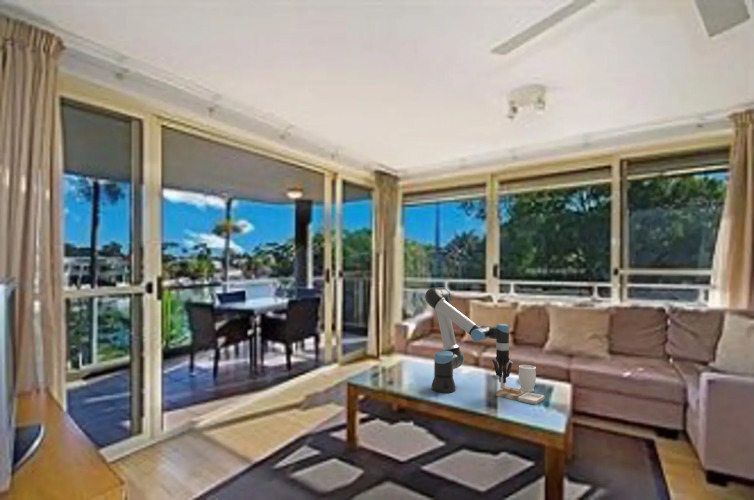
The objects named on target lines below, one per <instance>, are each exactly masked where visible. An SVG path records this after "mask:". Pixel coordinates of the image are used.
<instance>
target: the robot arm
mask: <svg viewBox="0 0 754 500" xmlns="http://www.w3.org/2000/svg"><path fill="white" fill-rule="evenodd" d="M424 298H425V301H426V303H427V304H428V305H429V306H430V307H431V308H433V310H435V311H436V316H437V320H438V321H437V322H438V325H439V332H440V336H441V340H442V345H443V347H442V348H441V350H438V351H436V352H435V353H434V359H433V360H434V364H433V365H434V367H433V368H434V369H433V370H434V373H433V374H434V377H433V380H432V383H431V387H430V389H431V390H432V391H433V392H438V393H443V394H448V393H454V392H455V391H456V388H457V387H456V384H455V380H454V370H455V369H458V368H460V367H461V366H462V365H463V364H464V362H465V355H464V353H463V351H462V350H461V349H460V345H458V344H457V342H456V337H455V335H456V334H455V332H454V327H453V323H454V324H455V325H457V326H458V327H459V328H461V329H462V330H463V331H464V332H466V333H467V334H468V335H469V336H470V337H471V340H472V341H474V342H477V343H479V342H482V341H484V340H487V339H488V340H489V339H490V340H495V341H496V344H495V345H496V347H495V348H496V350H495V351H496V353H495V354H496V357H495V358H494V359H491V361H492V363H493V366H494V371H495V375H496V376H498V378H499V379H498V381H499V382H498V383H500V389H503V388H504V387H506V386H505V385H506V383H507V378H508V377H510V374H511V370H512V366H513V365H514V361H511V360H510V357H509V356H510V350H509V349H510V329H509V328H510V327H509V325H508V324H506V323H497V324H496V325H495V326H487V325H478V324H476V322H474V321H473V320H472V319H470V318H468V316H466V315H465V314H463V313H462V312H461V311H460V310H458V309H457V308H456V307H454V306H453V305H452V304H451V300H452V294H451V291H450V290H449V289H448V288H447V287H445V286H436V287H431V288H429V289H427V290H426V292H425V294H424Z"/></svg>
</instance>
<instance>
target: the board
mask: <svg viewBox="0 0 754 500" xmlns="http://www.w3.org/2000/svg"><path fill="white" fill-rule="evenodd" d="M525 393H527V392H525V391H522V390H521V393H519V394H515V393H511V392H505V391H503V389H502V388H499V389H497V390H496V391H495V397H501V398H506V399H510V400H514V401H518V397H519V396H521V395H523V394H525Z"/></svg>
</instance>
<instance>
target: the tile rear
mask: <svg viewBox="0 0 754 500" xmlns="http://www.w3.org/2000/svg"><path fill="white" fill-rule="evenodd" d="M513 388H514V387H510V386H505V387H504V388H503V391H505V392H511V389H513Z"/></svg>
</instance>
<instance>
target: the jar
mask: <svg viewBox="0 0 754 500" xmlns="http://www.w3.org/2000/svg"><path fill="white" fill-rule="evenodd" d="M518 368H519V370H518V381H519V382H518V383H519V385H520V388H519V389H521V391H525V392H526V393H527V392H530V393H534V392H535V389H534V388H535V385H536V382H537V372H536V370H537V368H536V366H535V365H529V364H521V365H519V366H518Z"/></svg>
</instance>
